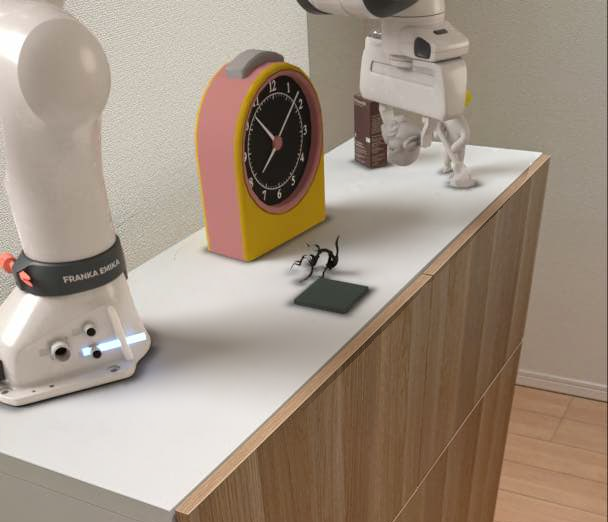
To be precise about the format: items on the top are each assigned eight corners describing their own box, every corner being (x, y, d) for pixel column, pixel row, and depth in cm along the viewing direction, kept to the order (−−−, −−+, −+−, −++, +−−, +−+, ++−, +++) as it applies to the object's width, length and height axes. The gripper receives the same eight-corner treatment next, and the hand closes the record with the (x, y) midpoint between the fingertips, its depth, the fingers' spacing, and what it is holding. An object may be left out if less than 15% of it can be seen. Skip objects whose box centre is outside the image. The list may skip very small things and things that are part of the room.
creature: (288, 290, 115) (339, 281, 113) (277, 256, 112) (330, 246, 109) (298, 268, 121) (347, 259, 118) (289, 234, 118) (339, 224, 115)
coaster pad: (343, 314, 107) (343, 309, 106) (293, 303, 110) (293, 299, 109) (368, 290, 112) (368, 286, 111) (320, 280, 115) (319, 276, 114)
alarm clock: (248, 262, 121) (229, 70, 103) (206, 250, 125) (181, 63, 107) (327, 218, 133) (322, 39, 115) (286, 208, 137) (275, 34, 119)
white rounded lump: (386, 158, 125) (388, 109, 120) (428, 162, 123) (432, 113, 118) (374, 168, 121) (375, 119, 116) (417, 173, 118) (420, 122, 114)
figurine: (418, 183, 143) (423, 93, 133) (435, 168, 149) (440, 79, 139) (471, 189, 139) (480, 96, 129) (486, 173, 145) (495, 83, 135)
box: (352, 161, 154) (352, 93, 146) (371, 157, 155) (372, 89, 147) (369, 169, 150) (369, 100, 142) (388, 164, 152) (390, 96, 143)
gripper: (350, 29, 115) (350, 131, 125) (444, 49, 103) (436, 160, 112) (382, 24, 118) (380, 123, 127) (478, 42, 105) (467, 151, 115)
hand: (407, 140), depth 120 cm, fingers closed on white rounded lump, 6 cm apart
